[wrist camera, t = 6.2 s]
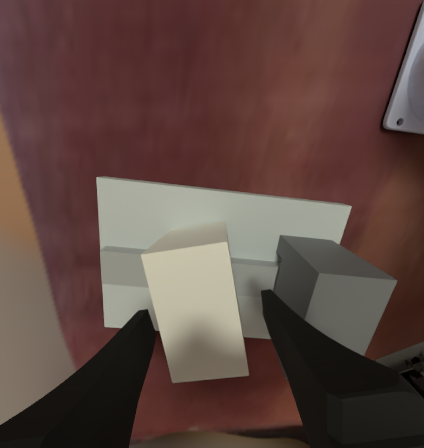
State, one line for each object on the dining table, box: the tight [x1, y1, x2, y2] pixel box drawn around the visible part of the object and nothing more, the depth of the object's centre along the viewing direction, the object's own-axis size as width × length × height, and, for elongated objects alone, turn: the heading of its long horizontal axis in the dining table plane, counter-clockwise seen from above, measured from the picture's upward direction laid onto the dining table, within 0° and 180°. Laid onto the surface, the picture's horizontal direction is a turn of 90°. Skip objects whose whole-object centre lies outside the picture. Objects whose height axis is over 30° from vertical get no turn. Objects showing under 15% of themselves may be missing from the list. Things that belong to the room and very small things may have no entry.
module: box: [141, 221, 249, 383], centre depth 14 cm, size 4×9×6 cm, turn 10°
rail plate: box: [97, 176, 398, 380], centre depth 15 cm, size 20×14×7 cm
